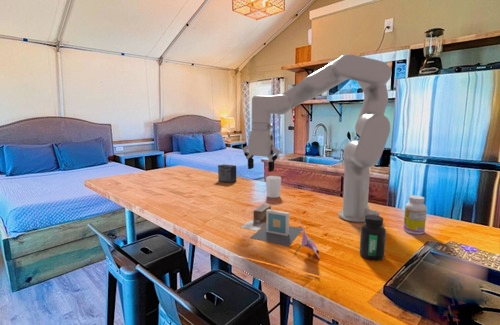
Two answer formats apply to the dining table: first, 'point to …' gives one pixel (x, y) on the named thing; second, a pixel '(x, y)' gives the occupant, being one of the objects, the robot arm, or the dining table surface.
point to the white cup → (273, 186)
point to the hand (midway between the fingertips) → (260, 169)
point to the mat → (277, 236)
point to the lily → (307, 242)
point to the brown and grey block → (257, 218)
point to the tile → (277, 222)
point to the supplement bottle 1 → (372, 238)
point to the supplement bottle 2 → (415, 215)
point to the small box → (227, 173)
